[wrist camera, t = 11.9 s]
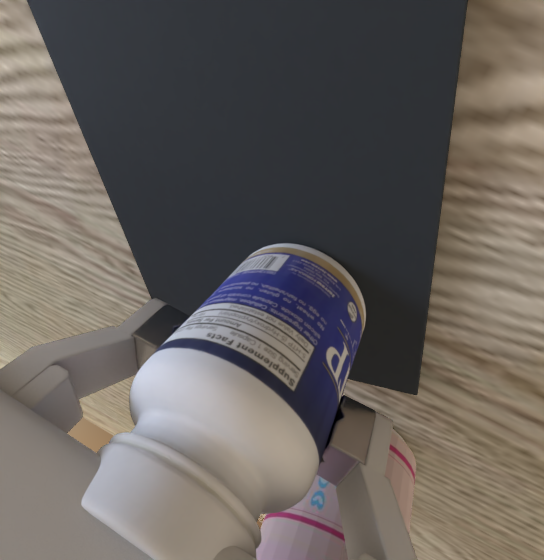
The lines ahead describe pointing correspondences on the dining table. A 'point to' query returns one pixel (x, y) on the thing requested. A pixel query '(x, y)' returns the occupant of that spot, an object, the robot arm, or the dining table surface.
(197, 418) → the pill bottle
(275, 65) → the felt mat
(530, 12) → the dining table surface
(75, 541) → the robot arm
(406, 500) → the beverage can
